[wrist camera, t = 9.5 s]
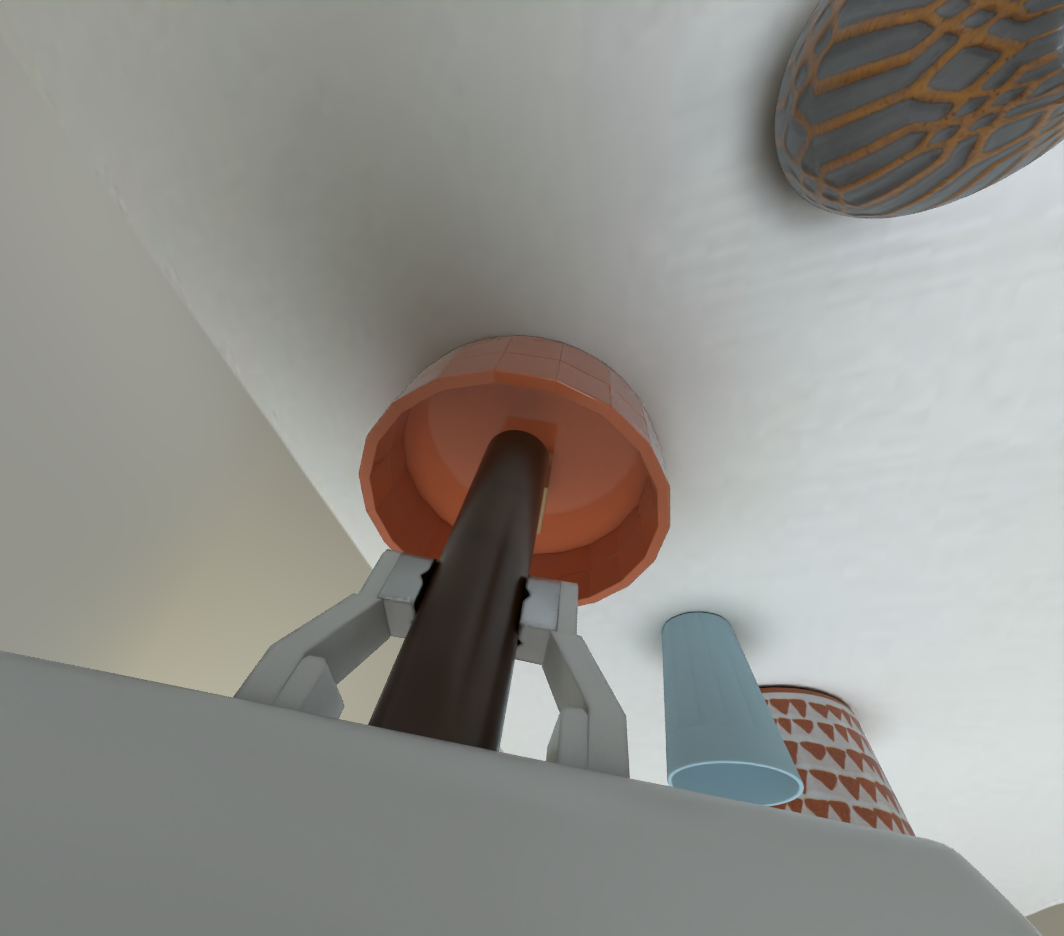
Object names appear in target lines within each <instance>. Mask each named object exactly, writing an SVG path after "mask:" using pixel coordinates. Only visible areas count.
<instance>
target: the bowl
mask: <svg viewBox="0 0 1064 936" xmlns="http://www.w3.org/2000/svg"><path fill="white" fill-rule="evenodd" d="M508 430H521V431H525V432H528V433H530V434H533V435H534V436H536V437H537V438H538V439H540V441H541V442H542V443H543V444H544V445H545V447H546V449H547V451H550V452H553V453H554V455H553V462H552V468H551V475H550V481H549V488H548V493H547V499H546V505H545V511H544V516H543V522H542V528H541V533H540V534H537V535H536V540H535V546H534V552H533V558H532V563H531V569H530V575H533V576H539V577H545V578H551V579H557V580H560V581H565V582H571V583H577V584H578V606H581V605H586V604H590V603H595V602H597V601H599V600H601V599H603V598H605V597H607V596H609V595H611V594H613V593H615V592H617V591H619V590H621V589H624V588H626V587H628V585H630V584H631V583H632V582H633V581H634V580H635V579H636V578H637V577H638V576H639V575H640V574H641V573H642V572H644V571H645V570H646V569H647V568H648V567H649V566H650V565H651V564H652V563H653V562H654V560H655V559H656V557H657V555H658V552H659V550H660V548H661V546H662V544H663V541H664V539H665V537H666V535H667V533H668V530H669V528H670V485H669V481H668V477H667V473H666V470H665V466H664V462H663V458H662V454H661V450H660V447H659V443H658V439H657V436H656V434H655V432H654V430H653V427H652V424H651V422H650V419H649V417H648V414H647V412H646V410H645V408H644V407H643V405H642V402H641V401H640V400H639V398H638V396H637V395H636V394H635V393H634V391H633V390H632V389H631V388H630V386H629V385H628V384H627V383H626V382H625V381H624V380H623V379H622V378H621V377H620V376H619V375H618V374H617V373H616V372H615V371H614V370H612V369H611V368H609V367H608V366H607V365H605V364H604V363H602V362H601V361H600V360H598V359H597V358H595V357H593V356H591V355H589V354H587V353H585V352H583V351H582V350H580V349H577V348H575V347H572V346H569V345H566V344H564V343H561V342H557V341H553V340H548V339H544V338H539V337H528V336H501V337H494V338H488V339H483V340H478V341H475V342H472V343H469V344H467V345H464V346H461V347H459V348H457V349H455V350H453V351H451V352H449V353H447V354H445V355H444V356H443V357H441V358H440V359H438V360H437V361H436V362H434V363H433V364H431V365H429V366H428V367H426V368H425V369H424V370H423V371H422V372H421V373H420V374H419V375H418V376H417V377H416V378H415V380H414V381H413V382H412V383H411V384H410V385H409V386H408V387H407V388H406V389H405V390H404V391H403V392H402V393H401V394H400V395H399V396H398V397H397V398H396V399H395V400H394V401H393V402H392V403H391V405H390V406H389V407H388V409H387V410H386V411H385V413H384V414H383V415H382V417H381V418H380V419H379V420H378V422H377V423H376V424H375V426H374V427H373V428H372V430H371V431H370V432H369V434H368V435H367V437H366V441H365V446H364V451H363V456H362V460H361V465H360V470H359V478H360V483H361V488H362V493H363V498H364V503H365V508H366V511H367V513H368V515H369V517H370V518H371V520H372V522H373V523H374V525H375V527H376V529H377V530H378V532H379V534H380V535H381V537H382V539H383V540H384V542H385V543H386V544H387V545H388V546H389V547H390V548H391V549H392V550H396V551H401V552H406V553H411V554H415V555H420V556H425V557H430V558H435V559H437V563H438V560H439V558H440V556H441V553H442V551H443V549H444V546H445V544H446V542H447V539H448V537H449V535H450V532H451V530H452V528H453V526H454V523H455V521H456V519H457V516H458V514H459V512H460V509H461V507H462V505H463V502H464V500H465V498H466V495H467V493H468V491H469V488H470V486H471V484H472V481H473V479H474V477H475V474H476V472H477V470H478V467H479V465H480V463H481V460H482V458H483V456H484V453H485V451H486V449H487V446H488V444H489V442H490V441H491V440H492V439H493V437H495V436H496V435H498V434H499V433H502V432H504V431H508Z"/></svg>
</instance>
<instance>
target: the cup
mask: <svg viewBox="0 0 1064 936" xmlns="http://www.w3.org/2000/svg"><path fill="white" fill-rule="evenodd" d="M662 652H663V677H664V703H665V729H666V758H667V781H668V784H669V786H670V787H674V788H679V789H684V790H689V791H694V792H699V793H704V794H709V795H714V796H719V797H724V798H728V799H733V800H738V801H743V802H748V803H753V804H758V805H763V806H774V805H779V804H783V803H787V802H790V801H792V800H794V799H796V798H797V797H799V796H800V795H801V794H802V793H803V790H804V785H803V782H802V780H801V778H800V775H799V773H798V771H797V769H796V767H795V764H794V762H793V760H792V758H791V756H790V754H789V751H788V749H787V747H786V745H785V743H784V741H783V739H782V737H781V735H780V733H779V730H778V728H777V726H776V724H775V722H774V719H773V717H772V715H771V713H770V710H769V708H768V706H767V704H766V702H765V699H764V697H763V695H762V693H761V691H760V688H759V686H758V684H757V682H756V680H755V677H754V675H753V673H752V671H751V669H750V666H749V664H748V662H747V660H746V658H745V655H744V653H743V651H742V649H741V647H740V644H739V642H738V640H737V638H736V636H735V633H734V631H733V629H732V627H731V625H730V624H729V623H728V622H727V621H726V620H725V619H723V618H722V617H719V616H717V615H714V614H710V613H702V612H694V613H686V614H682V615H679V616H676V617H674V618H672V619H671V620H669V621H668V622H667V623H666V624H665V625H664V628H663V630H662Z"/></svg>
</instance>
